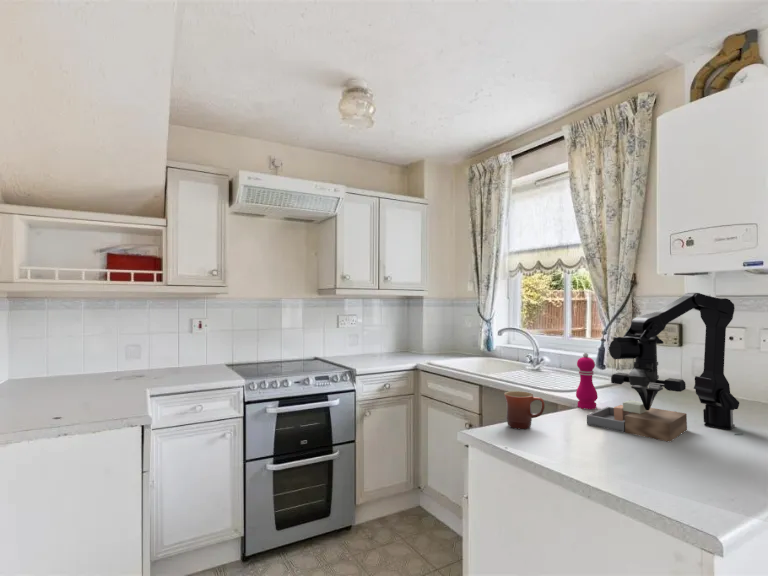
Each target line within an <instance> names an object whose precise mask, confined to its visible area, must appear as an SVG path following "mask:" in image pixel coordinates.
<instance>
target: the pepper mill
mask: <svg viewBox="0 0 768 576" xmlns="http://www.w3.org/2000/svg"><path fill="white" fill-rule="evenodd" d="M582 356H583V357H580V358H578V360H577V362H576V366H577V368H578V369H579V370H578V374H579V376H580V377H579V380H580V381H579V384H578V386H577V388H576V393H575V397H576V399H577V400H578V401H577V407H578V408H579V409H583V410H596V409H597V403H596V401H597V399H598V393H597V390H596V388H595V385H594V383H593V375H594V369H595V367H596V363H595V361H594V360H593V358H591V357H589V354H588V352H584V353H583V354H582ZM584 408H585V409H584Z"/></svg>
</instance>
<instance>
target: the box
mask: <svg viewBox="0 0 768 576" xmlns="http://www.w3.org/2000/svg"><path fill="white" fill-rule="evenodd" d="M629 413H632V412H629ZM586 425H587V426H591V425H592V426H593V427H595V428H596V427H597V428H602V429H606V430H611V431H616V432H620V433H625V420H623V421H618V420H614V407H611V406H605V407H602V408H600V409H597V410H596V411H593V412H590V413H588V414H586ZM592 426H591V427H592Z"/></svg>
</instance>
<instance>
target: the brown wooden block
mask: <svg viewBox="0 0 768 576" xmlns="http://www.w3.org/2000/svg"><path fill="white" fill-rule="evenodd" d="M687 415H688V414H687V412H686V413H685V412H679V411H672V410H668V409H667V410H666V409H661V408H654V407H651V408H650V410H649V411H648V410H647V411H646V412H644V413H641V414H639V413H633V412H632V413H629V414H627V415H625V432H624V433H625V434H631V435H634V436H635V435H636V436H639V435H640V436H639V437H644V436H645V437H644V438H648V437H650V439H653V438H654V440H658V439H659V440H658V441H663V440H664V442H668V441H669V442H668V443H671V442H672V441H674V440H675V439H676V438H678V437H679V436H681V435H682V434H684V433H685V432H687V431H688V422H687V417H688V416H687ZM686 430H687V431H686ZM684 431H685V432H684ZM683 432H684V433H683ZM681 433H682V434H681ZM680 434H681V435H680ZM677 436H678V437H677ZM673 439H674V440H673ZM670 441H671V442H670Z"/></svg>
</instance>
